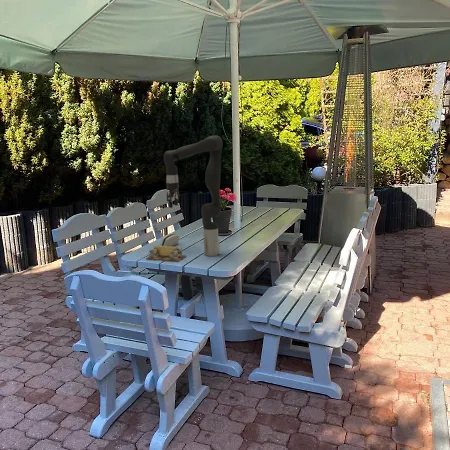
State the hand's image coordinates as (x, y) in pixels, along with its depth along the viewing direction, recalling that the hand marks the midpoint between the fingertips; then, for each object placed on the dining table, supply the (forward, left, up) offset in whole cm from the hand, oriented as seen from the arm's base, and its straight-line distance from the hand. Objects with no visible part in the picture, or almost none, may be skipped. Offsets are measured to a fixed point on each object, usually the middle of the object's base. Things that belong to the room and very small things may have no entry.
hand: (173, 206), depth 298 cm
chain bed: (-1, +17, -30) cm, 35 cm away
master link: (-1, +17, -28) cm, 32 cm away
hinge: (+10, -12, -30) cm, 34 cm away
